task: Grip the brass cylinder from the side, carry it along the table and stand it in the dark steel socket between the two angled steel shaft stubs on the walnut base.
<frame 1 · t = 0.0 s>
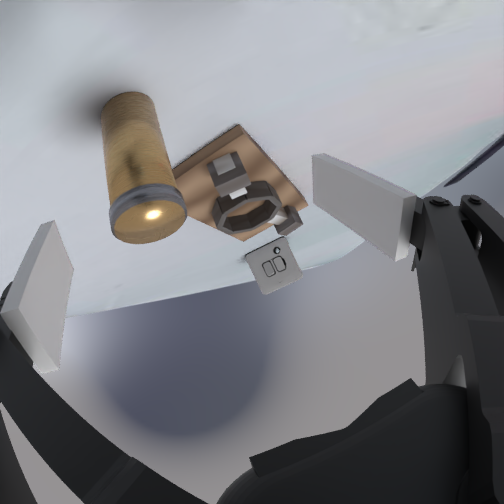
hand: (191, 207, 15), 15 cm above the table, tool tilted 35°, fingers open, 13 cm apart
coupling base: (240, 192, 44), on the table
electrical switch: (268, 246, 68), on the table
brass cylinder: (127, 114, 25), on the table
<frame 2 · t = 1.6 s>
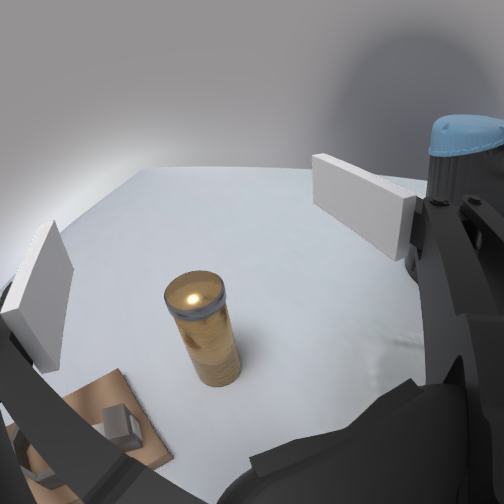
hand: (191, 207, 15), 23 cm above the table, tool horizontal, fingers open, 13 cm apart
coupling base: (59, 457, 24), on the table
brass cylinder: (219, 368, 34), on the table
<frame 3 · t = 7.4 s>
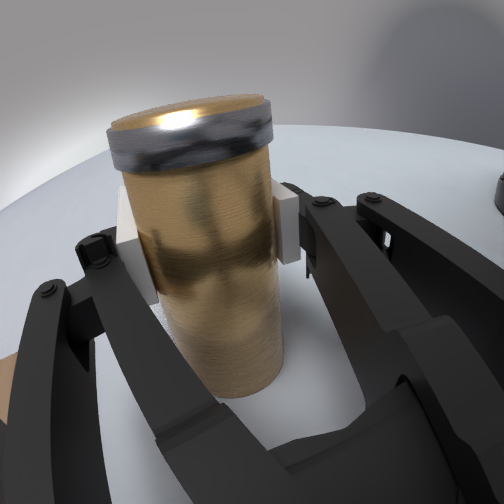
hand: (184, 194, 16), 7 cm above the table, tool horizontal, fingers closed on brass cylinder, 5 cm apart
brass cylinder: (233, 357, 16), on the table, touching gripper
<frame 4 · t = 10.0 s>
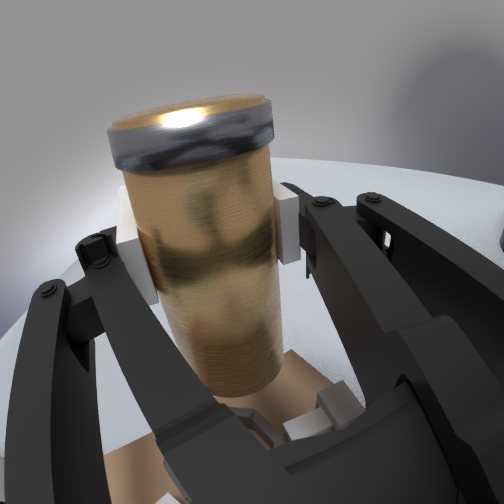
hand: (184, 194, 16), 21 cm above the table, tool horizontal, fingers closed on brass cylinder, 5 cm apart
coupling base: (231, 469, 22), on the table
electrical switch: (2, 503, 16), on the table
brass cylinder: (234, 357, 16), point 14 cm above the table, touching gripper
when the fingers open (10 cm above the table, at t = 12.5 s): brass cylinder drops 1 cm, resting on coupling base.
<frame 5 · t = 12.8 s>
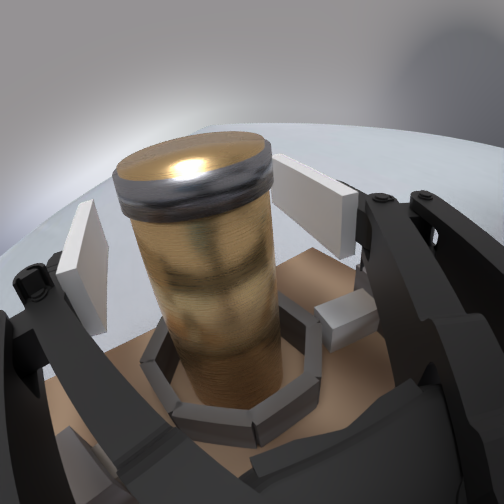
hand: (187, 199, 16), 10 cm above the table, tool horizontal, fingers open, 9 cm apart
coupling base: (241, 388, 17), on the table
brass cylinder: (236, 375, 16), point 2 cm above the table, touching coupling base
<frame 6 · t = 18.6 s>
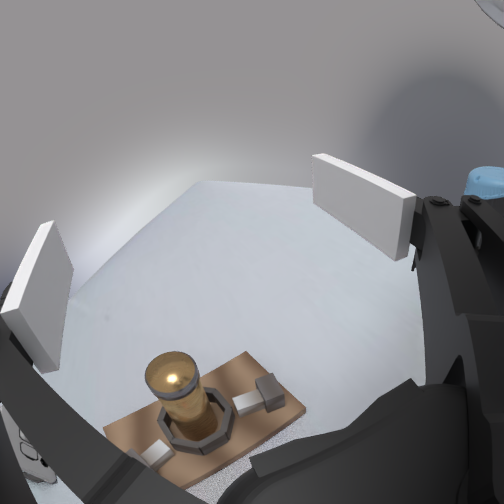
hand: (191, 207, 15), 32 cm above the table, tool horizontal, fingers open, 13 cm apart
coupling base: (201, 429, 36), on the table
electrical switch: (40, 462, 30), on the table
brass cylinder: (198, 424, 35), point 2 cm above the table, touching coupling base
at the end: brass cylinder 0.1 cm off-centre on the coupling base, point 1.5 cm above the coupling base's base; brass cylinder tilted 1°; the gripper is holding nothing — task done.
